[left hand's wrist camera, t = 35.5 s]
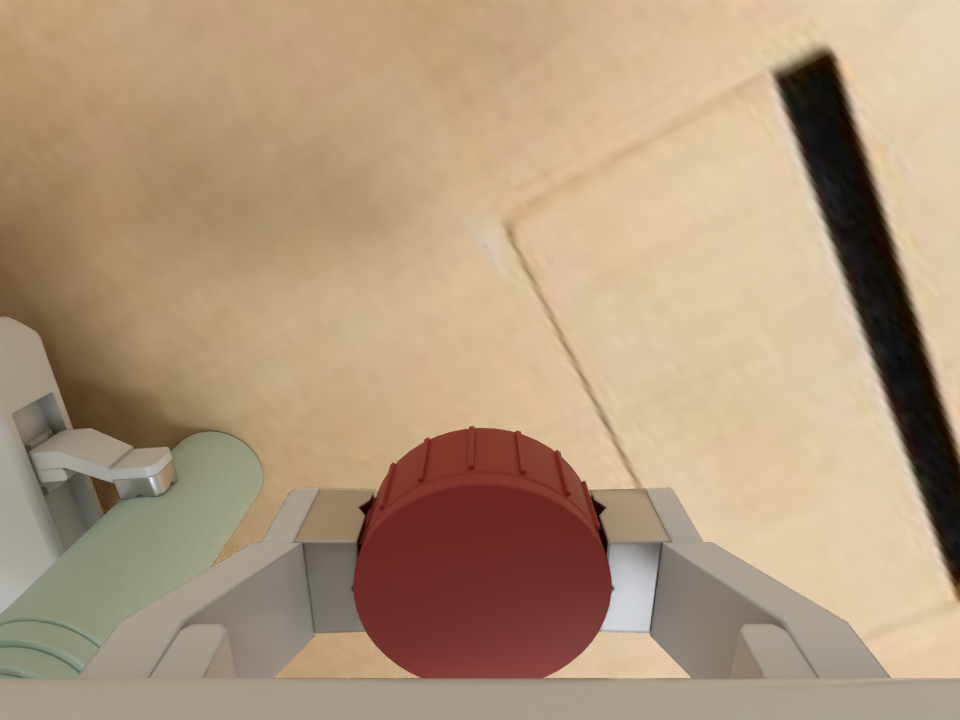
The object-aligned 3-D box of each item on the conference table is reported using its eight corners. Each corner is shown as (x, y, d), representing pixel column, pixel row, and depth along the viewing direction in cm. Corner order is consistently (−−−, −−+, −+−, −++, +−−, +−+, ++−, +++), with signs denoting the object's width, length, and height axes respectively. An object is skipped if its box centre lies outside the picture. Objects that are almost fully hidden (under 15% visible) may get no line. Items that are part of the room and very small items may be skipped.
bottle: (185, 416, 29) (-241, 794, 12) (275, 453, 30) (-3, 859, 13) (160, 490, 31) (-252, 921, 13) (247, 523, 31) (-38, 972, 14)
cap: (412, 629, 11) (400, 713, 9) (339, 457, 10) (310, 520, 8) (612, 583, 11) (636, 663, 9) (564, 398, 9) (581, 452, 8)
